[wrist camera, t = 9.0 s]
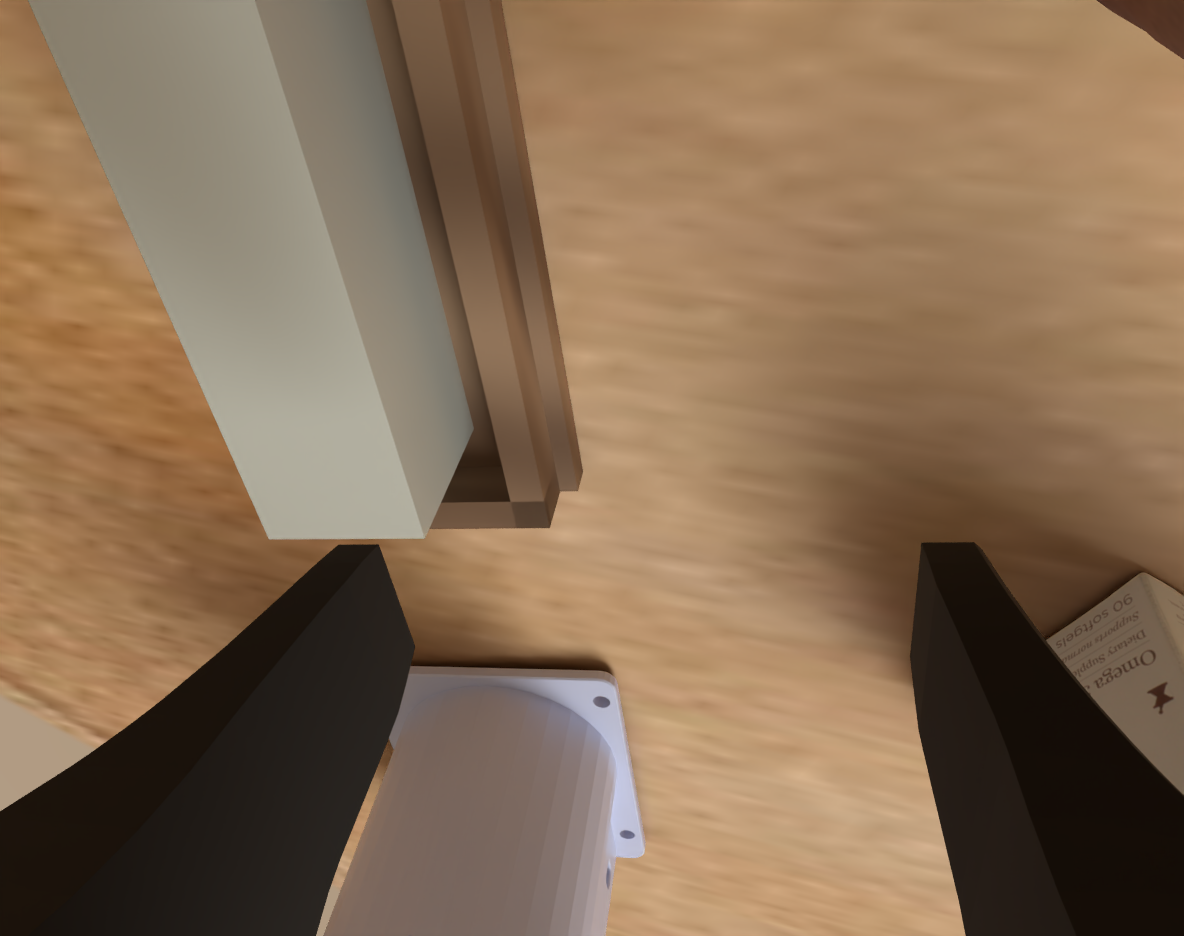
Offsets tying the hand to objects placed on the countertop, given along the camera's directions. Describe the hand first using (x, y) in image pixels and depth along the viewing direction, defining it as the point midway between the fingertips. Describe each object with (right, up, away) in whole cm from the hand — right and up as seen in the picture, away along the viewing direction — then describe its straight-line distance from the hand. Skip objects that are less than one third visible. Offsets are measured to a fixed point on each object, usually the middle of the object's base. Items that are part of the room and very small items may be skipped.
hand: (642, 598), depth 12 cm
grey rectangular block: (-6, +7, +6) cm, 12 cm away
